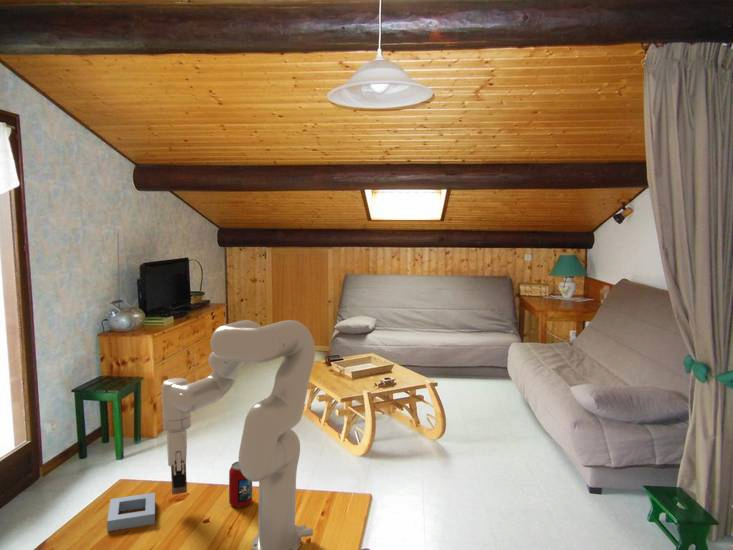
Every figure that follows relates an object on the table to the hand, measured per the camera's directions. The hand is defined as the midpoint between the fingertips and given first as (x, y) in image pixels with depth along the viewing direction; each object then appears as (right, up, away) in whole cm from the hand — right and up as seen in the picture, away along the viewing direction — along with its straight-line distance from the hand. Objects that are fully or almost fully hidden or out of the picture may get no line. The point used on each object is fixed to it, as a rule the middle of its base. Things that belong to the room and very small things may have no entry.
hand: (179, 482), depth 158 cm
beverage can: (+16, -9, +6) cm, 19 cm away
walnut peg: (0, -2, 0) cm, 2 cm away
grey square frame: (-12, -8, -3) cm, 15 cm away
